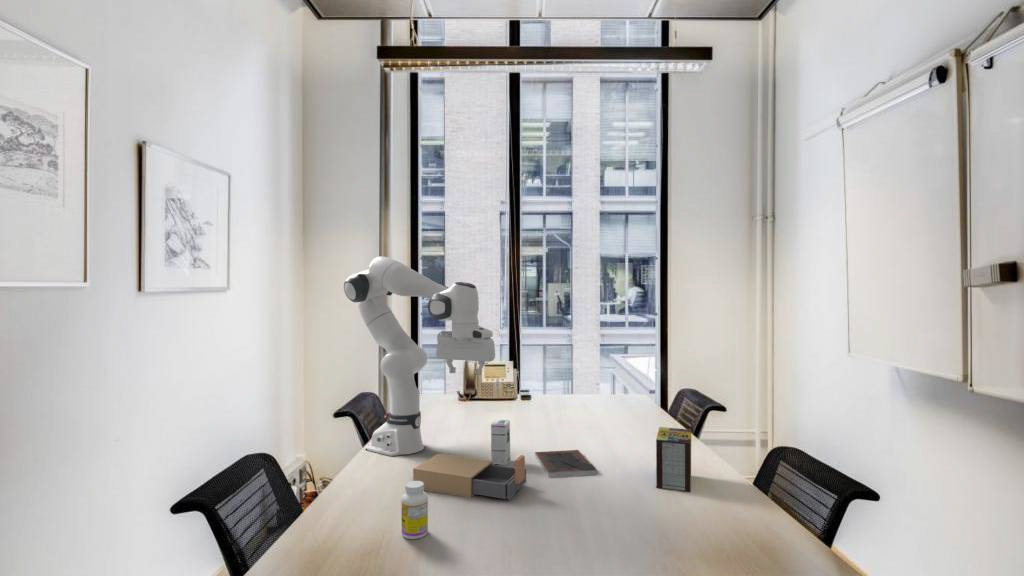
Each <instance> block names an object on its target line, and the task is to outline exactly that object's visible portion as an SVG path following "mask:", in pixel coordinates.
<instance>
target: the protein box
mask: <svg viewBox="0 0 1024 576" xmlns="http://www.w3.org/2000/svg"><path fill="white" fill-rule="evenodd" d="M655 444H656V445H655V446H656V451H655V452H656V453H655V455H656V457H655V461H656V462H655V463H656V464H655V465H656V466H655V468H656V469H655V472H656V473H655V475H656V477H655V478H656V481H655V482H656V484H655V485H656V487H655V489H659V490H660V489H661V490H668V491H678V492H687V493H691V491H692V489H691V488H692V429H687V428H677V427H666V426H665V427H664V426H659V427H658V431H657V435H656V439H655Z"/></svg>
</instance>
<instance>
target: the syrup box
mask: <svg viewBox="0 0 1024 576" xmlns="http://www.w3.org/2000/svg"><path fill="white" fill-rule="evenodd" d="M510 425H511V423H510V420H509V419H495V420H494V421H493V422H492V423H491V424H490V440H491V441H490V444H491V445H490V446H491V447H490V449H491V450H490V451H491V457H490V458H491V460H490V461H493V465H495V464H499V466H507V465H508V464H509V462H510V461H511V427H510Z"/></svg>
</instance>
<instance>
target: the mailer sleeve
mask: <svg viewBox="0 0 1024 576" xmlns="http://www.w3.org/2000/svg"><path fill="white" fill-rule="evenodd" d="M490 464H492V465H494V464H493V461H491V460H490V459H484V458H483V459H482V458H474V457H467V456H460V455H453V454H445V453H437V454H435V455H434V456H432V457H431V458H429V459H427V460H426V461H424V462H422V463H421V464H419V465H417V466H416V467H414V468H413V469H412V475H413V477H412V479H413V480H412V481H421V482H423V483H424V490H423V491H429V492H436V493H442V494H448V495H454V496H460V497H464V498H472V497H473V496H474V495H475V494H472V478H473V477H475V476H476V475H477V474H479V473H480V472H481V471H483V470H484V469H485V468H486V467H488V466H489V465H490Z"/></svg>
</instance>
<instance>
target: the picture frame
mask: <svg viewBox="0 0 1024 576" xmlns="http://www.w3.org/2000/svg"><path fill="white" fill-rule="evenodd" d="M534 456H535V459H536V460H537V461H538V463H539V465H540V466H541V468H542V469H543V470H544V472H545V474H546V476H547V478H562V476H564V477H576V476H579V475H580V476H594V475H595V476H596V474H597V473H598V471H597V468H596V467H595V466H594V465H593V464H592V463H591V462H590V461H589V460H588V459H587V457H586V456H585V455H583V454H582V452H581V451H580V450H579V449H573V450H572V449H571V450H570V449H569V450H552V451H551V450H550V451H535V452H534Z"/></svg>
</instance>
